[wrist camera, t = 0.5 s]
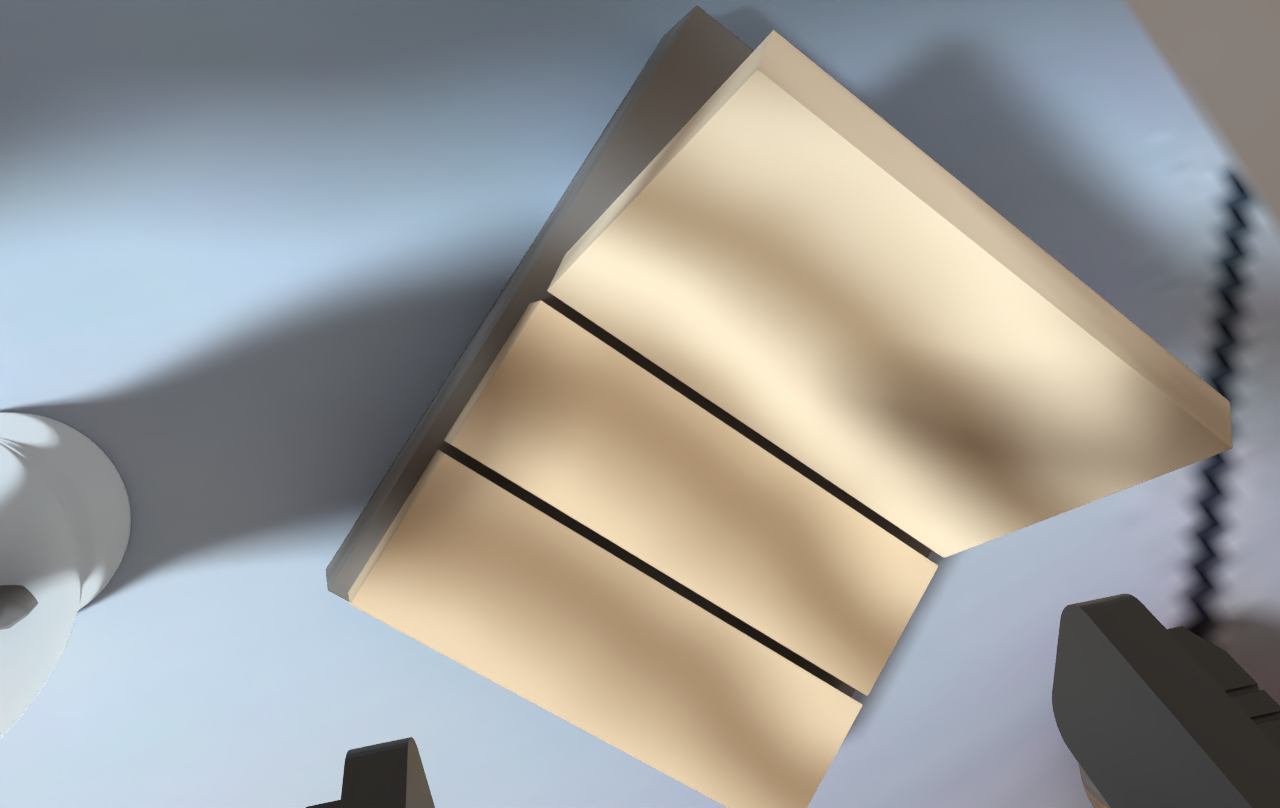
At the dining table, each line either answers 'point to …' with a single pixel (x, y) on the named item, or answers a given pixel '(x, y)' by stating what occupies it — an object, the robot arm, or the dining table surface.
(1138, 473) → the oak plank
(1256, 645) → the dining table surface
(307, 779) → the dining table surface
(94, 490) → the metal can
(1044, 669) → the dining table surface
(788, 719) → the floor board
